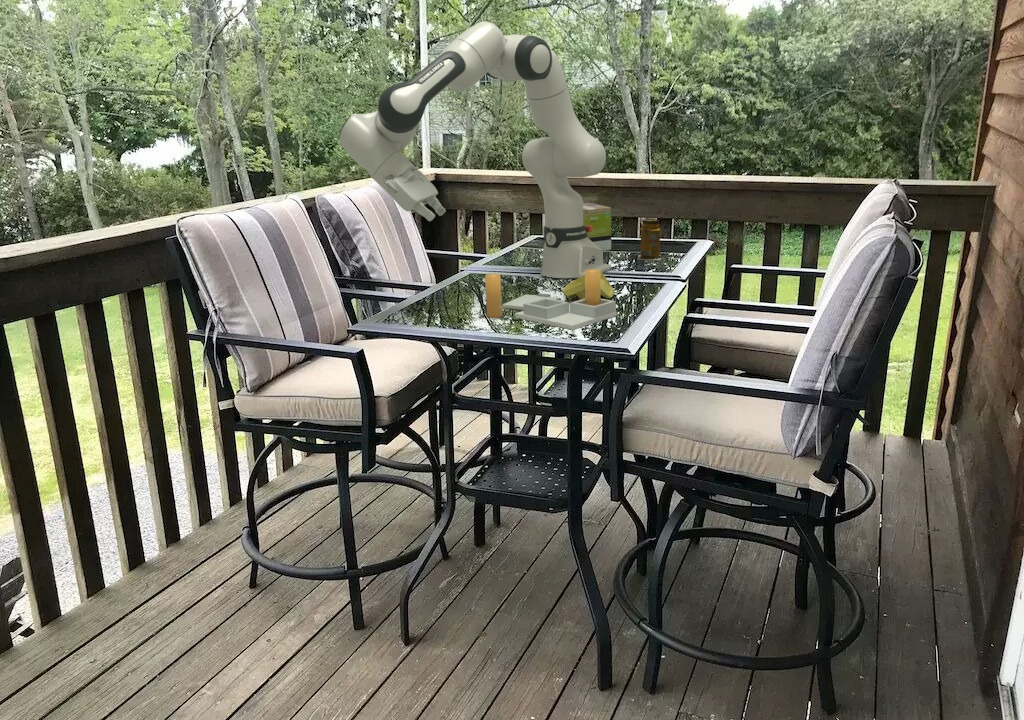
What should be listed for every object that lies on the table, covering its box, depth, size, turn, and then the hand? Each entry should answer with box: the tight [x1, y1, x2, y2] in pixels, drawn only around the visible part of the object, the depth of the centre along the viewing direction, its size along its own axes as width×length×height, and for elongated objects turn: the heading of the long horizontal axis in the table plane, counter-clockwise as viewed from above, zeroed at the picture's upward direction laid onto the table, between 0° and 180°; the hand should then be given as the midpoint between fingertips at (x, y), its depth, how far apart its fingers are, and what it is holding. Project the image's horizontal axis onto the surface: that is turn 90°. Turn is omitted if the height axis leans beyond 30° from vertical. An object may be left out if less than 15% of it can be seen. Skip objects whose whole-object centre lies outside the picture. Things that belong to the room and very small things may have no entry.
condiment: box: [637, 218, 662, 261], centre depth 258 cm, size 7×8×12 cm
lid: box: [502, 293, 561, 311], centre depth 206 cm, size 14×10×1 cm
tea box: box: [583, 202, 612, 252], centre depth 278 cm, size 15×10×15 cm, turn 25°
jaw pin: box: [484, 272, 503, 319], centre depth 194 cm, size 4×4×10 cm
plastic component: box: [562, 272, 615, 300], centre depth 208 cm, size 20×7×10 cm
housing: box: [514, 269, 618, 331], centre depth 191 cm, size 16×18×11 cm
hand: (438, 216), depth 191 cm, fingers open, 8 cm apart
